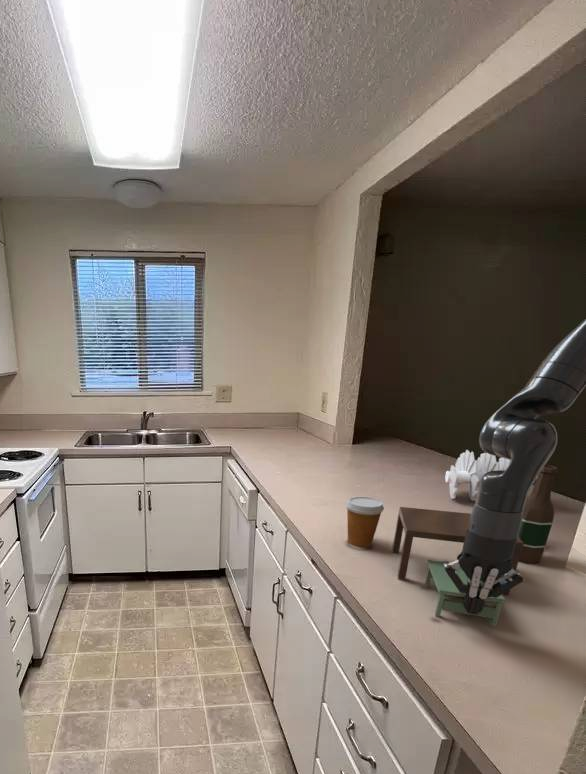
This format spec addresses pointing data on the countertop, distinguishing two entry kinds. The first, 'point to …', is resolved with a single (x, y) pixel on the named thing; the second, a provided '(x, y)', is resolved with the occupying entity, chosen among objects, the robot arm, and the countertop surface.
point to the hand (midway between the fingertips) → (471, 612)
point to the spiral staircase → (473, 471)
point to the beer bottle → (537, 517)
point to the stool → (457, 593)
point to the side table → (434, 532)
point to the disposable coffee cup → (363, 519)
